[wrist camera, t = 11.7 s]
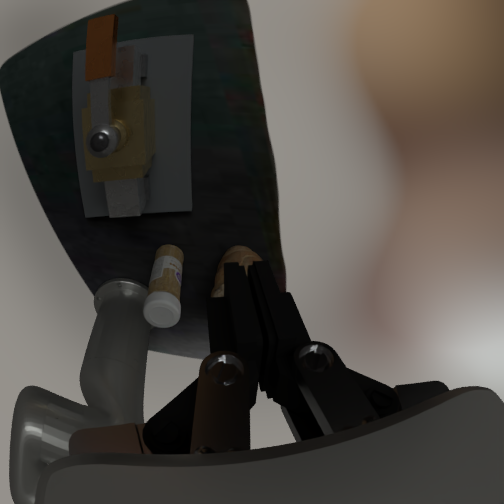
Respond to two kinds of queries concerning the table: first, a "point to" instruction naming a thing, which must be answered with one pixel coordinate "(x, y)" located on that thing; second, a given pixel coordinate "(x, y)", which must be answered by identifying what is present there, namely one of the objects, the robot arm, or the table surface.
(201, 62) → the table surface
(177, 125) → the valve board
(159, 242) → the table surface
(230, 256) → the pipe
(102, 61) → the lever
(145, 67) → the valve
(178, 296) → the sprinkles bottle
